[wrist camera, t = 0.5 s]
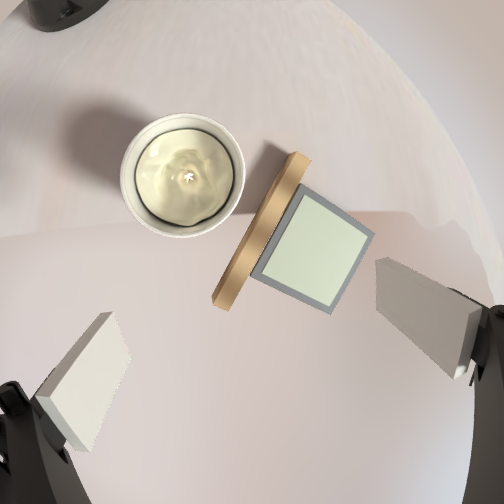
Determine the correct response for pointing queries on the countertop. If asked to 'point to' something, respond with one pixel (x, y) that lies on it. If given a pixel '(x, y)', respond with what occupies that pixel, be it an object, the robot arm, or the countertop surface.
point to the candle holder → (182, 175)
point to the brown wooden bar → (260, 230)
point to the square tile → (313, 251)
